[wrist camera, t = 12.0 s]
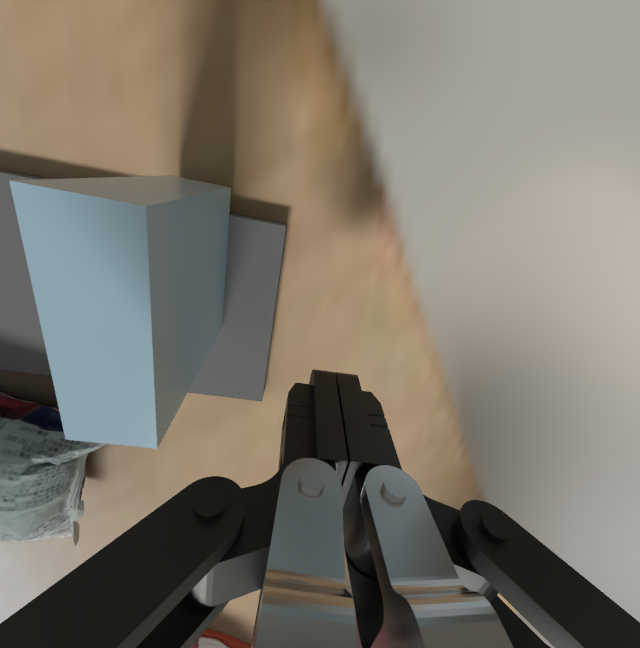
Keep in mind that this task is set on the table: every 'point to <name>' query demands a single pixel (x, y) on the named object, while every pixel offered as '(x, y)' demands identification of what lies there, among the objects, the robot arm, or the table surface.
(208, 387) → the mat
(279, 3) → the table surface
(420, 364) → the table surface
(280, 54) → the table surface
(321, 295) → the table surface
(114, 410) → the block
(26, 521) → the packaged food
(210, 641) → the cake
